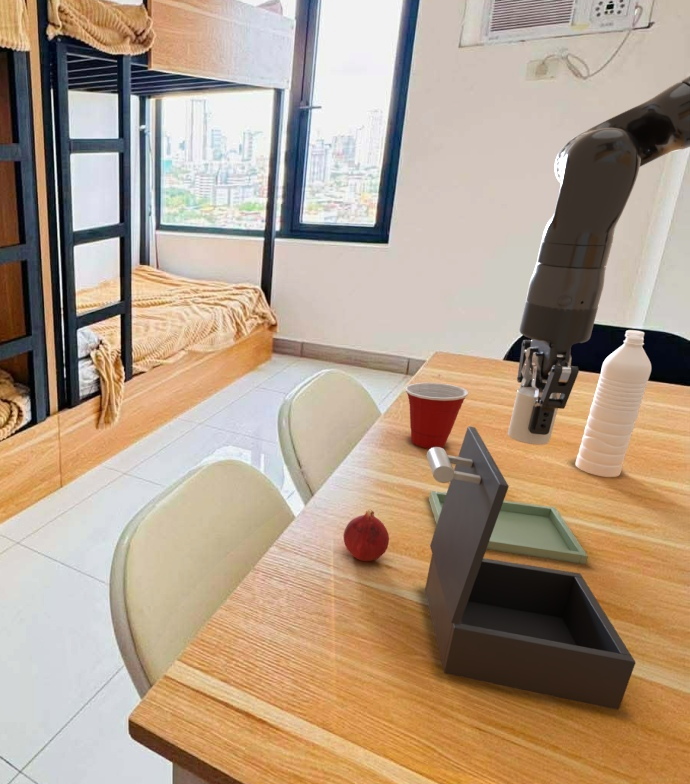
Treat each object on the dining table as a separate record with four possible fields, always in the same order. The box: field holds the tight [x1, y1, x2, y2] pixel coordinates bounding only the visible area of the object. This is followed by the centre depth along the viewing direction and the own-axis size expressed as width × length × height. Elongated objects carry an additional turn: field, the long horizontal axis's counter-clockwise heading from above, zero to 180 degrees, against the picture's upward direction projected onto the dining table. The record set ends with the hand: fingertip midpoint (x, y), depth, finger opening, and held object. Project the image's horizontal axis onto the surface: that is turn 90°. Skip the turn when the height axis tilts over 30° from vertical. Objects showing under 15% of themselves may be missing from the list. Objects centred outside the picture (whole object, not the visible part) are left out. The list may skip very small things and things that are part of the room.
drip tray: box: [428, 490, 589, 565], centre depth 94 cm, size 18×14×2 cm
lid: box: [426, 425, 510, 625], centre depth 69 cm, size 17×15×5 cm
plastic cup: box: [404, 382, 469, 450], centre depth 122 cm, size 11×11×12 cm
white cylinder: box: [507, 387, 559, 446], centre depth 84 cm, size 5×5×6 cm
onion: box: [342, 509, 390, 562], centre depth 87 cm, size 6×6×8 cm
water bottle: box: [574, 329, 652, 478], centre depth 110 cm, size 9×6×25 cm
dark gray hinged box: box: [424, 554, 636, 710], centre depth 71 cm, size 16×15×7 cm
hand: (531, 424), depth 84 cm, fingers closed on white cylinder, 4 cm apart
